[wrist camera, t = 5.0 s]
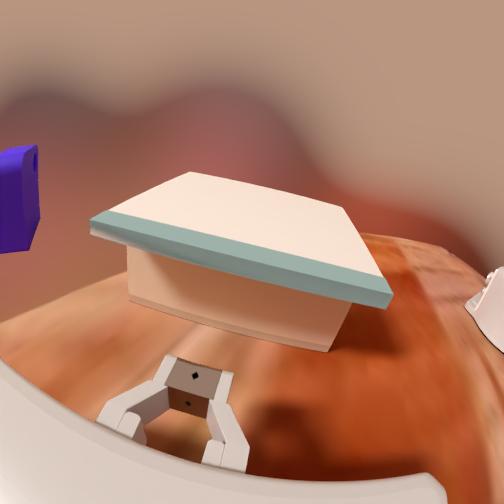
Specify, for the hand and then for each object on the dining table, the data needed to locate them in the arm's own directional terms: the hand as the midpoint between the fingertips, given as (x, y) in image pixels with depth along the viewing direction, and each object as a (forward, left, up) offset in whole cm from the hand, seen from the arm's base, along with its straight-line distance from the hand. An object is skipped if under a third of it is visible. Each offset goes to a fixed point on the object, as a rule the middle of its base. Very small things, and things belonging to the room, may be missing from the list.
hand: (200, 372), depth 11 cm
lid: (-11, -11, +2) cm, 15 cm away
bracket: (+19, -32, -6) cm, 38 cm away
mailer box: (-12, -12, -6) cm, 18 cm away
